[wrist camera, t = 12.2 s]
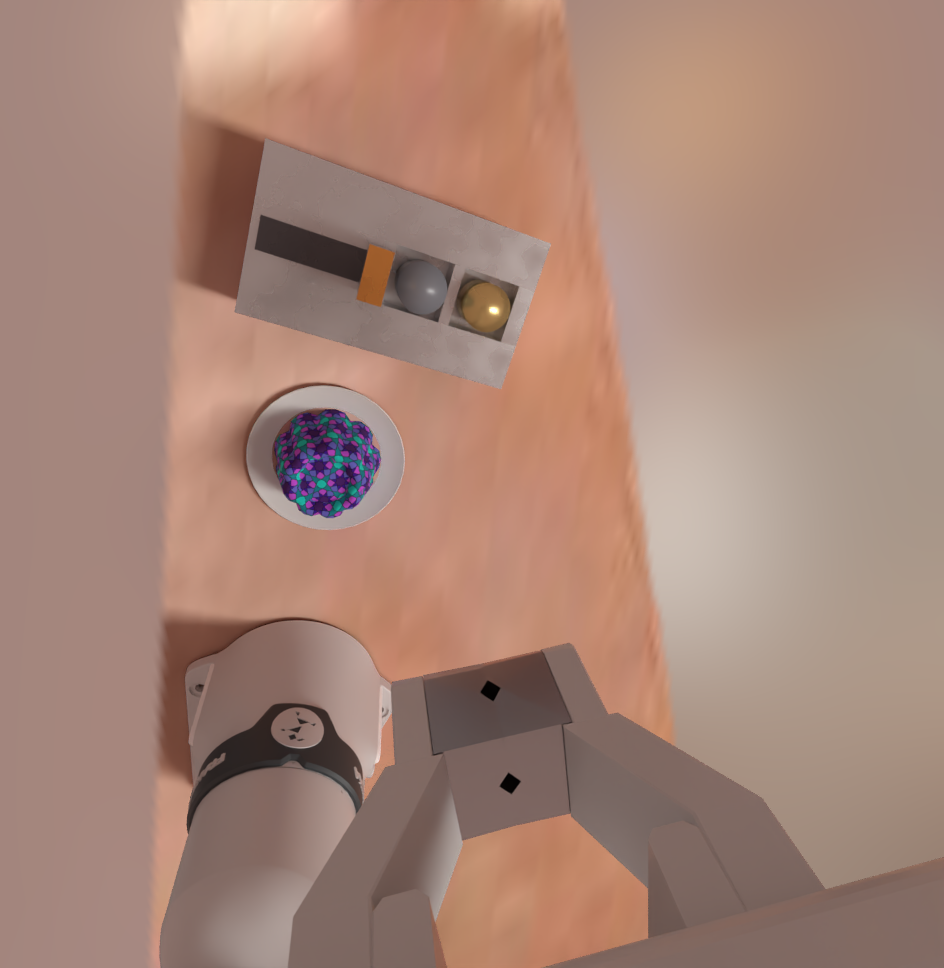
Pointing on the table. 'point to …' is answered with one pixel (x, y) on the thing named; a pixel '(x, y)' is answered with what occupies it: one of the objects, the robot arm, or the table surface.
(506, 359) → the panel
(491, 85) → the table surface
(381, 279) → the slider
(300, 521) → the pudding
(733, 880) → the robot arm
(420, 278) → the button slate
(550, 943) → the table surface
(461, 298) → the button brass
